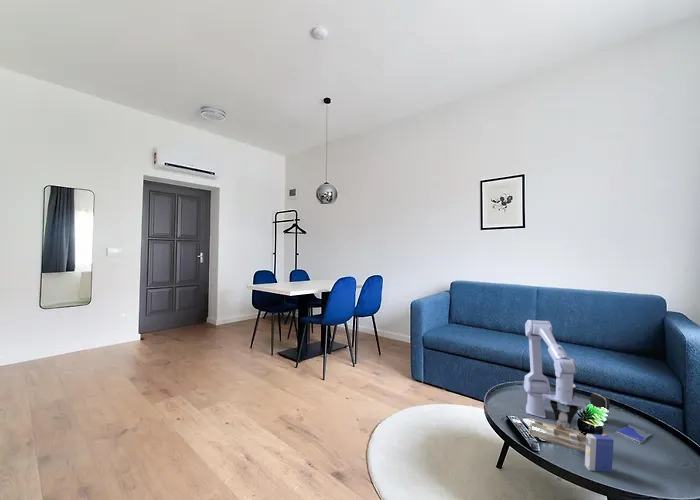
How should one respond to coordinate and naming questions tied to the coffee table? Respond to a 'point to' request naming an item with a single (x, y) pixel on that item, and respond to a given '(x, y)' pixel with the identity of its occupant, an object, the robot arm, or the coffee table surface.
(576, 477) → the coffee table surface
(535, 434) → the board
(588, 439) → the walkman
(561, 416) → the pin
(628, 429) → the blue spiral notebook
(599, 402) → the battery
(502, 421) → the coffee table surface
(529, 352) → the robot arm
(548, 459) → the coffee table surface
